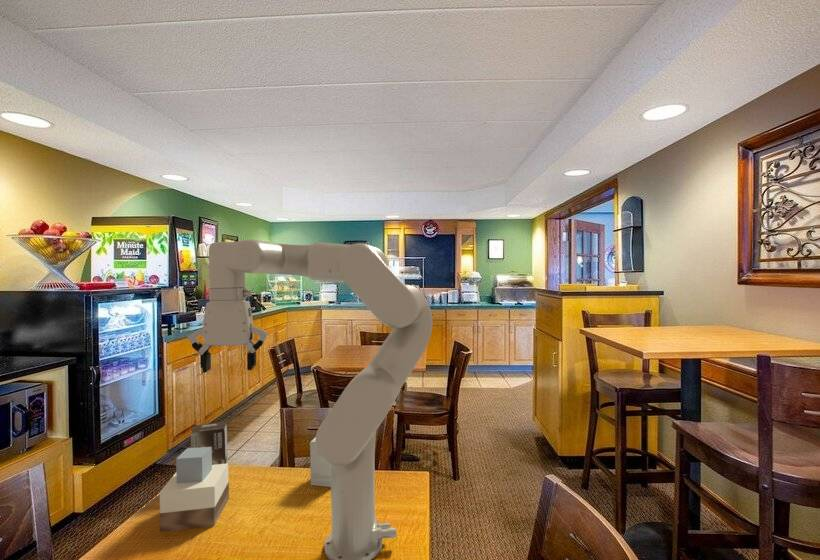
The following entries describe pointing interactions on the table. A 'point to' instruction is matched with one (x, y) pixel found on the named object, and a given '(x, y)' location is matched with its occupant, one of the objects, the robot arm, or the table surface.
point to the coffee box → (212, 440)
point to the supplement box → (319, 468)
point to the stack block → (194, 464)
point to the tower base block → (194, 516)
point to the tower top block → (194, 491)
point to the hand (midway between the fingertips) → (229, 370)
